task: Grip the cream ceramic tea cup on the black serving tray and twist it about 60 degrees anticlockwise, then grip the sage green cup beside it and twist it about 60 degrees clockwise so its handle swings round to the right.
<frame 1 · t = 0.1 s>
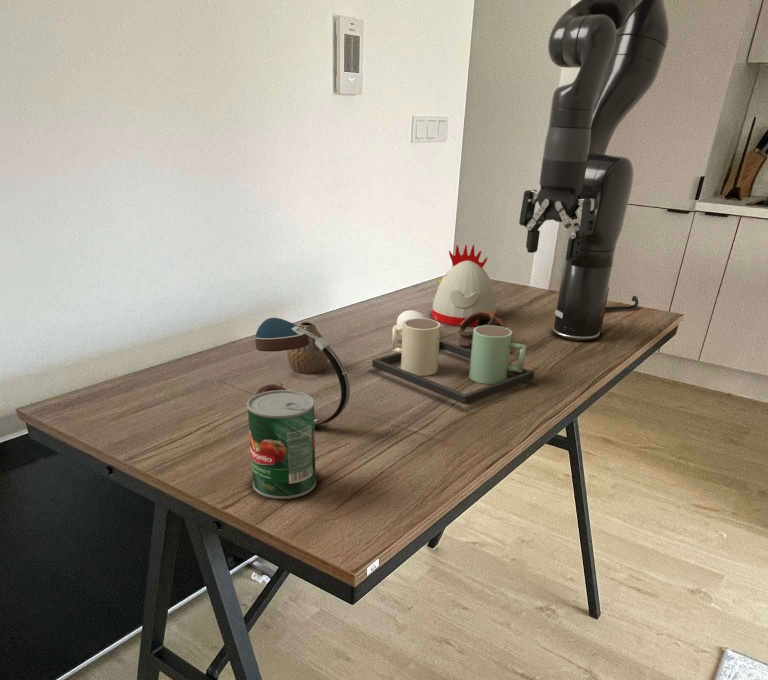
hand: (550, 256, 129), 17 cm above the table, tool pointing down, fingers open, 8 cm apart
cream cup: (414, 345, 121), point 5 cm above the table, hinge at 0.0°
headphones: (281, 421, 105), on the table
green cup: (497, 355, 117), point 5 cm above the table, hinge at 0.0°
tray: (451, 378, 122), on the table
vase: (308, 374, 122), on the table
kitchen timer: (463, 317, 155), on the table
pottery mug: (484, 349, 136), on the table
canned tomato: (284, 485, 89), on the table
stress ball: (414, 340, 140), on the table
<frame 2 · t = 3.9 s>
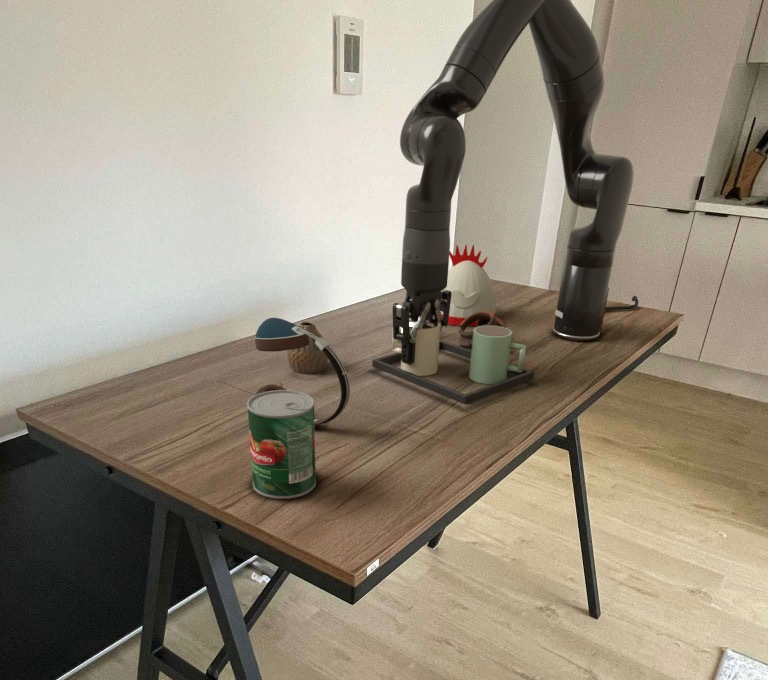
hand: (419, 357, 121), 3 cm above the table, tool pointing down, fingers closed on cream cup, 6 cm apart
cream cup: (414, 345, 121), point 5 cm above the table, hinge at 0.0°, touching gripper
everything else where it was.
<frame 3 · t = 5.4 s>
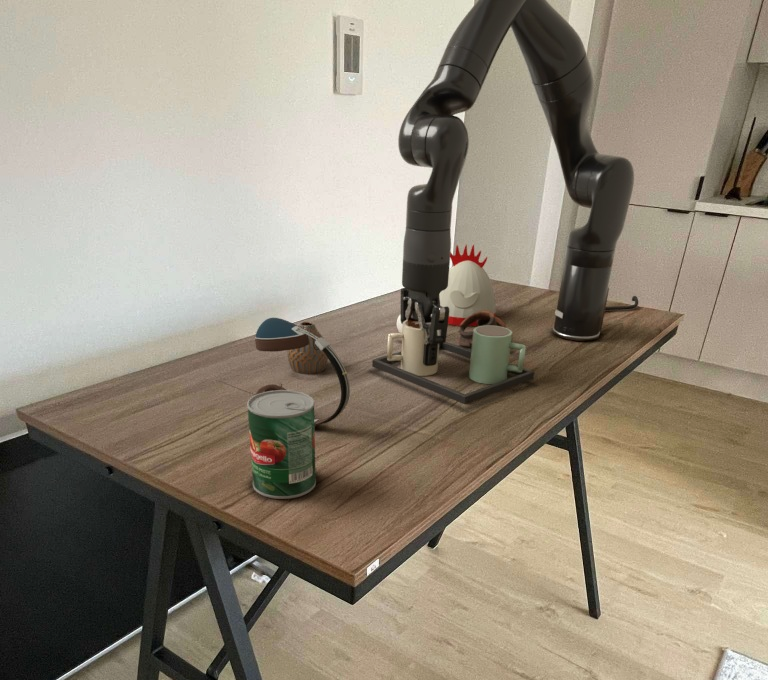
hand: (420, 357, 121), 3 cm above the table, tool pointing down, fingers closed on cream cup, 6 cm apart
cream cup: (412, 347, 120), point 5 cm above the table, hinge at 53.8°, touching gripper
everything else where it was.
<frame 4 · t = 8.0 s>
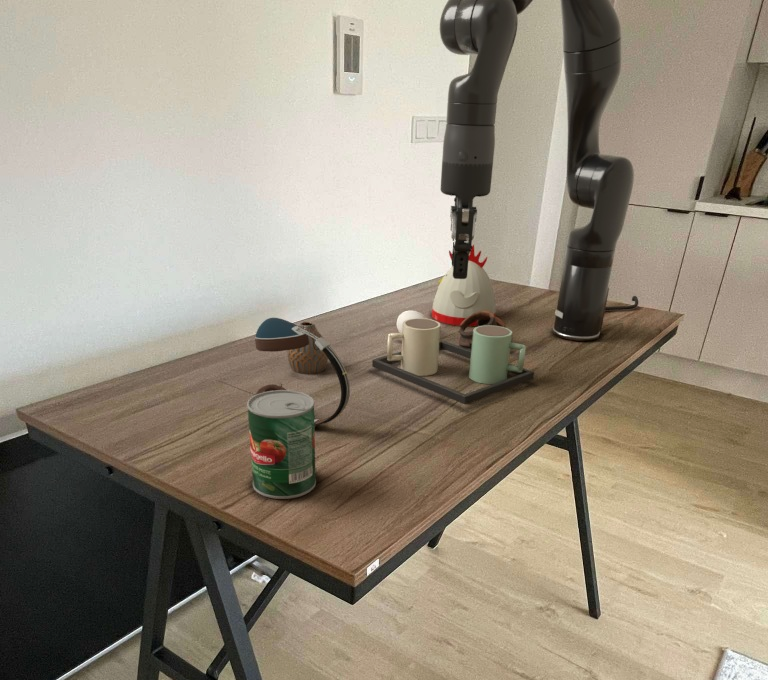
hand: (458, 272, 113), 18 cm above the table, tool pointing down, fingers open, 8 cm apart
cream cup: (412, 347, 120), point 5 cm above the table, hinge at 53.6°
everything else where it was.
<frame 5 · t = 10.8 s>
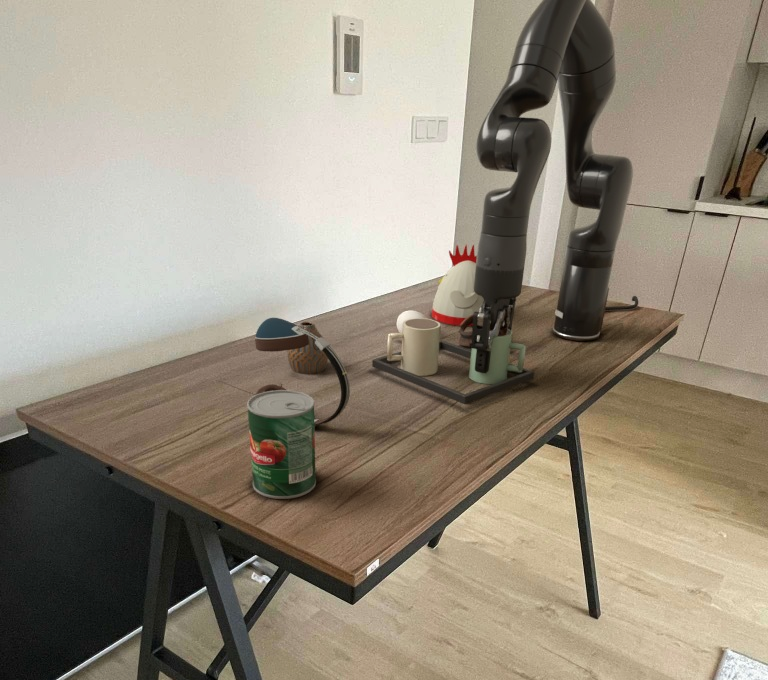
hand: (488, 365, 119), 3 cm above the table, tool pointing down, fingers closed on green cup, 6 cm apart
green cup: (497, 355, 117), point 5 cm above the table, hinge at 0.0°, touching gripper
everything else where it was.
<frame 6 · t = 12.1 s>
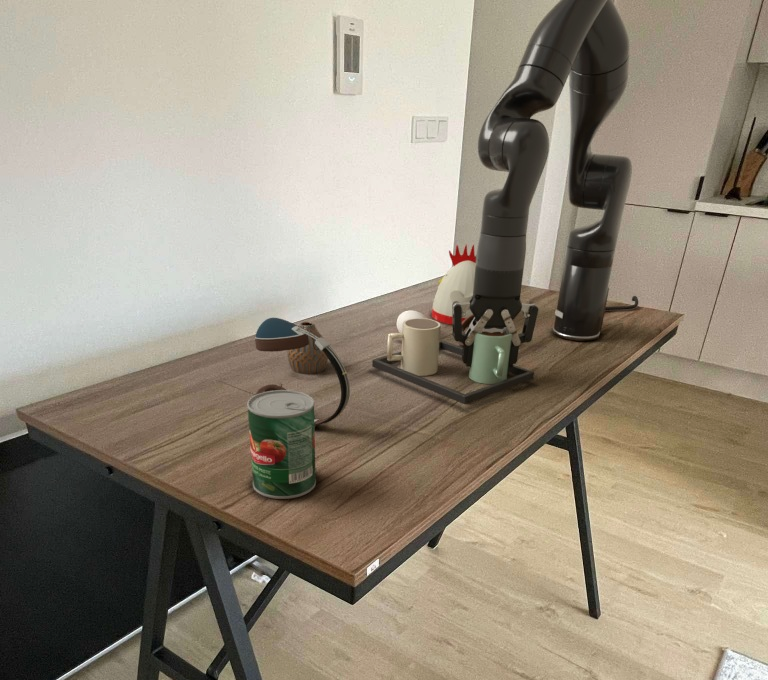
hand: (488, 365, 119), 3 cm above the table, tool pointing down, fingers closed on green cup, 6 cm apart
green cup: (492, 357, 117), point 5 cm above the table, hinge at -52.5°, touching gripper
everything else where it was.
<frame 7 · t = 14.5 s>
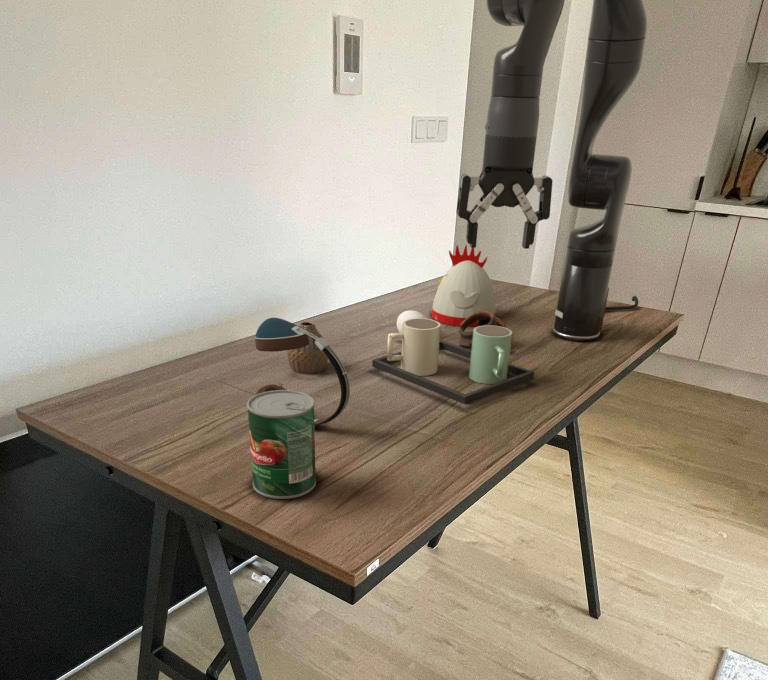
hand: (499, 247, 113), 21 cm above the table, tool pointing down, fingers open, 8 cm apart
green cup: (492, 357, 117), point 5 cm above the table, hinge at -52.5°
everything else where it was.
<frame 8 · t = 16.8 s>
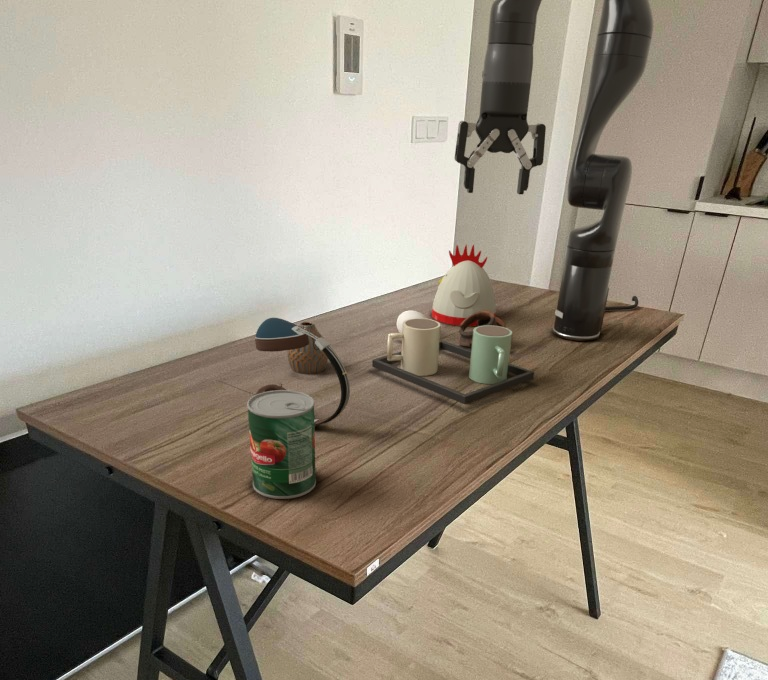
hand: (495, 193, 118), 28 cm above the table, tool pointing down, fingers open, 8 cm apart
nothing on the table moved.
at the end: cream cup at +54° (first picture: +0°); green cup at -52° (first picture: +0°) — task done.
